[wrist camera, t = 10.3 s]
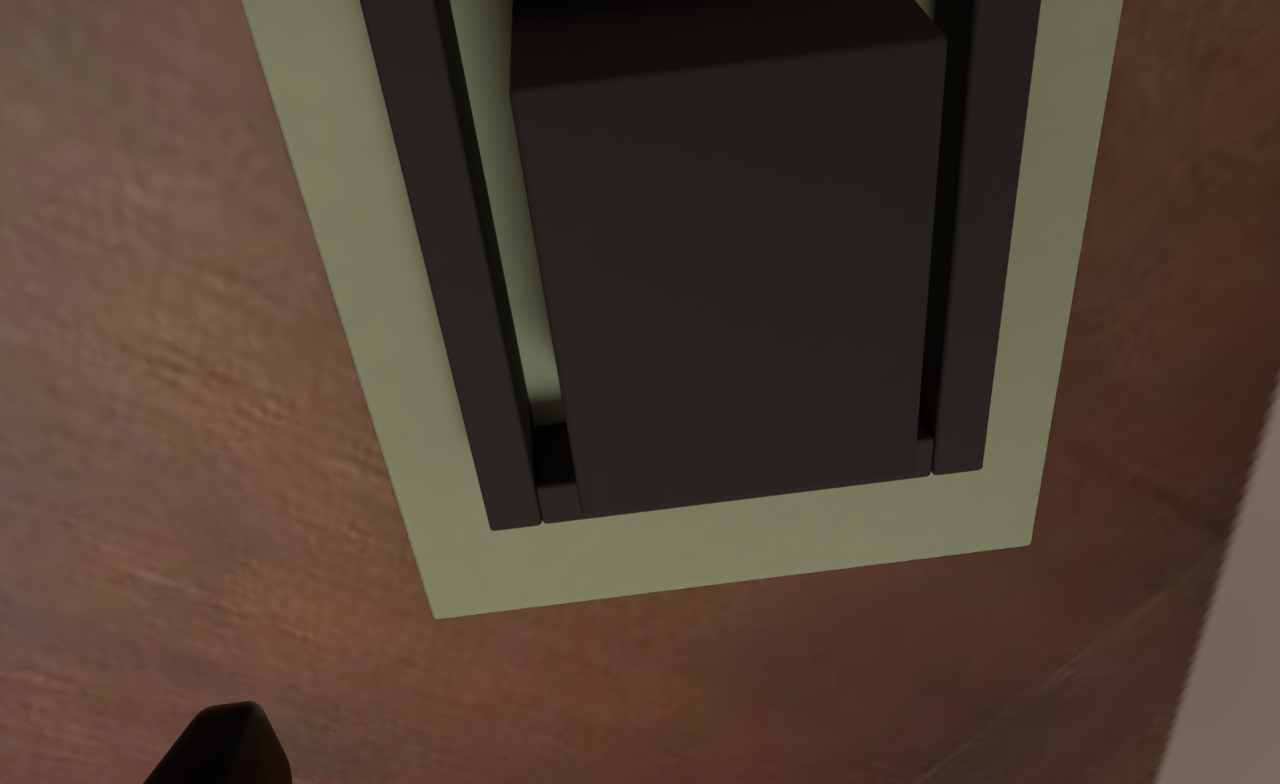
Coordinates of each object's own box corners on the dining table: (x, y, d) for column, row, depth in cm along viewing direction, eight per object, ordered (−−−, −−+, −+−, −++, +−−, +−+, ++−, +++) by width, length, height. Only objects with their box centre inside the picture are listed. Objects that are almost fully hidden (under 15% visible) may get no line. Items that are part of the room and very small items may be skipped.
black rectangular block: (862, 348, 17) (915, 476, 15) (574, 383, 17) (581, 517, 15) (876, -50, 14) (950, 36, 11) (511, -5, 14) (507, 90, 11)
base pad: (1009, 501, 21) (1062, 608, 19) (437, 572, 21) (427, 688, 19) (1177, -623, 11) (1325, -663, 9) (119, -498, 11) (23, -508, 9)
